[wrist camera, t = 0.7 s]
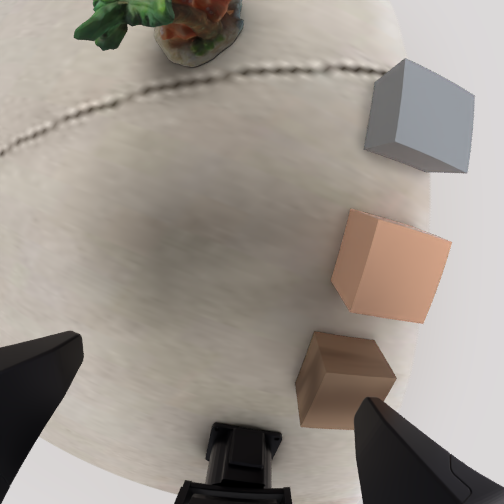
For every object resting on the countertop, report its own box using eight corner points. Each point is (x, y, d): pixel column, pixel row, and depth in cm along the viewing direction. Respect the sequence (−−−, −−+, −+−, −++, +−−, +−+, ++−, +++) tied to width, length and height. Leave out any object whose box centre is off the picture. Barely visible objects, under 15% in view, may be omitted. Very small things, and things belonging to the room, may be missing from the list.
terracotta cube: (392, 292, 19) (423, 323, 15) (330, 280, 19) (349, 312, 15) (412, 226, 18) (451, 242, 13) (350, 208, 18) (378, 219, 13)
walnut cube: (351, 388, 22) (365, 429, 17) (295, 382, 22) (300, 426, 17) (373, 339, 20) (396, 378, 16) (314, 330, 20) (326, 372, 16)
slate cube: (425, 172, 17) (467, 173, 12) (363, 149, 17) (394, 141, 12) (434, 108, 16) (474, 95, 11) (374, 82, 16) (405, 58, 11)
